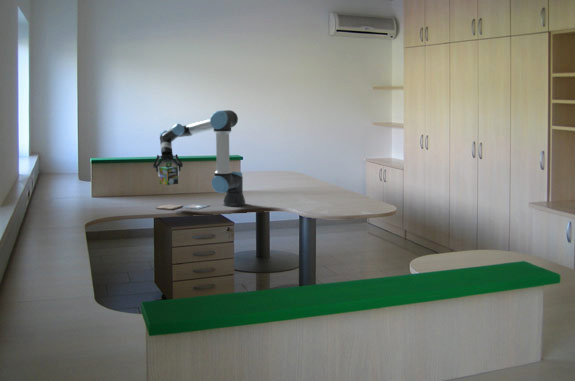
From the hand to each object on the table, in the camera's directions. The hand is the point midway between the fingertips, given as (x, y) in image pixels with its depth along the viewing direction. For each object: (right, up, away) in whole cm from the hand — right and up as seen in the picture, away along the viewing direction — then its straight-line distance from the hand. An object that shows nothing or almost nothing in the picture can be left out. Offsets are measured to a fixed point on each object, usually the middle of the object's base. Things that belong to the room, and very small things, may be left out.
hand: (168, 175), depth 423 cm
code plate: (+16, -21, +9) cm, 28 cm away
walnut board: (0, -22, +6) cm, 23 cm away
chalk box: (-1, -6, +3) cm, 7 cm away
